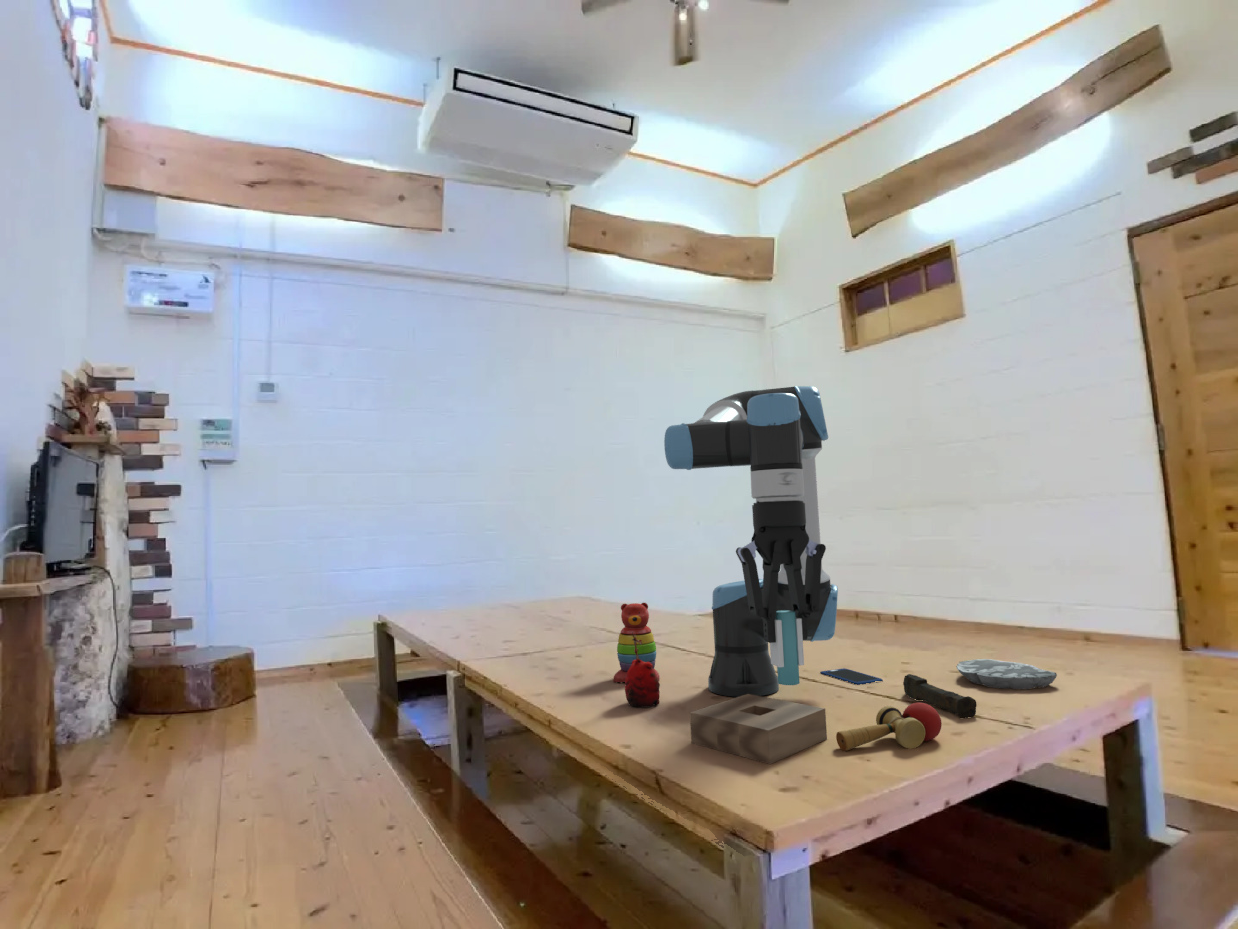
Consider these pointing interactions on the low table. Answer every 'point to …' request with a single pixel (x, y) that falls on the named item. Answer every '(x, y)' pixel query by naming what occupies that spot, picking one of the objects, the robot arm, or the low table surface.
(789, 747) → the hole block
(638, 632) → the stacking bear
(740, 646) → the robot arm
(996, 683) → the brain slice
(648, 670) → the red clay folk toy
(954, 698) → the hand tool
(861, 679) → the cell phone
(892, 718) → the kendama
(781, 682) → the peg
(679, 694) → the low table surface
